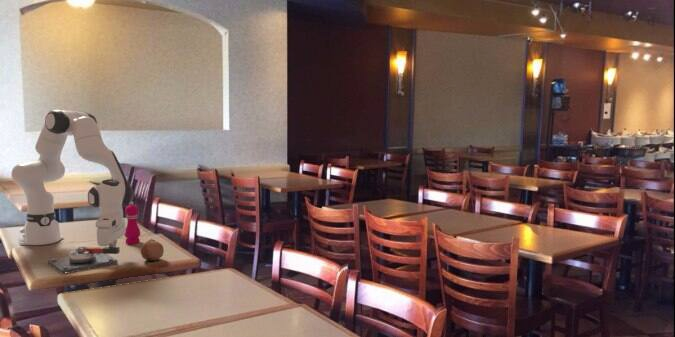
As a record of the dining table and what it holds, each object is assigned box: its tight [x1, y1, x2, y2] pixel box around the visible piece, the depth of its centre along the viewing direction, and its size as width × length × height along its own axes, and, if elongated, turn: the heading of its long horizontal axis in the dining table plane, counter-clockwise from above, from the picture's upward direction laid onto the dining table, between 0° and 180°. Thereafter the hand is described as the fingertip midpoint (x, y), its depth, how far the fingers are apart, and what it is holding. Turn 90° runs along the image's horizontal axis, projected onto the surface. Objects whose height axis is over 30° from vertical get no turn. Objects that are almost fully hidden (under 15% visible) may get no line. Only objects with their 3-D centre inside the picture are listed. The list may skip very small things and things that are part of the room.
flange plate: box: [47, 253, 119, 274], centre depth 234 cm, size 18×22×2 cm
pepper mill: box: [124, 201, 141, 245], centre depth 268 cm, size 7×7×20 cm
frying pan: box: [68, 246, 121, 263], centre depth 233 cm, size 20×10×5 cm, turn 91°
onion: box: [140, 238, 165, 262], centre depth 240 cm, size 10×9×10 cm
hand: (112, 250), depth 236 cm, fingers closed
